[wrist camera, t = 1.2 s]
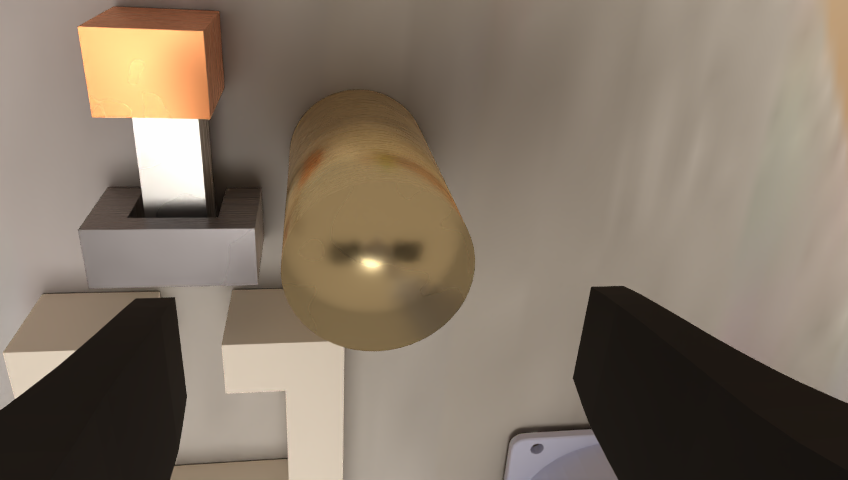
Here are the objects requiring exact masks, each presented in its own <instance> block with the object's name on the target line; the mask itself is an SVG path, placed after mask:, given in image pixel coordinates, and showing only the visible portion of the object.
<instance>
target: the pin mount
mask: <svg viewBox="0 0 848 480" xmlns="http://www.w3.org/2000/svg"><path fill="white" fill-rule="evenodd" d="M78 233H79V238H80V243H81V249H82V254H83V260H84V265H85V271H86V276H87V281H88V287H89V289H92V288H139V287H185V286H232V285H258V279H259V272H260V265H261V257H262V250H263V242H264V229H263V209H262V188H226V192H225V195H224V199H223V202H222V206H221V209H220V213H219V216H218V218H145V212H144V205H143V197H142V190H141V187H108V188H107V189H106V191H105V192H104V193H103V195H102V196H101V198H100V199H99V201H98V202H97V203H96V205H95V206H94V208H93V209H92V211H91V212H90V214H89V215H88V216H87V218H86V219H85V221H84V222H83V224H82V225H81V226H80V228H79V229H78Z"/></svg>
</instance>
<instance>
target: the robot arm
mask: <svg viewBox="0 0 848 480" xmlns="http://www.w3.org/2000/svg"><path fill="white" fill-rule="evenodd" d="M573 379H574V382H575V385H576V388H577V391H578V394H579V397H580V400H581V403H582V406H583V408H584V411H585V414H586V416H587V419H588V422H589V424H590V427H591V429H586V430H569V431H552V432H535V433H522V434H518V435H516V436H514V437H513V438H512V440H511V441H510V444H509V450H508V456H507V462H506V469H505V475H504V480H848V403H845V402H843V401H841V400H839V399H836V398H834V397H832V396H829V395H827V394H825V393H823V392H820V391H818V390H816V389H814V388H811V387H809V386H807V385H805V384H802V383H800V382H798V381H796V380H794V379H792V378H790V377H788V376H786V375H784V374H782V373H780V372H778V371H776V370H774V369H772V368H770V367H768V366H766V365H764V364H762V363H760V362H758V361H757V360H755V359H753V358H751V357H749V356H747V355H745V354H743V353H742V352H740V351H738V350H736V349H734V348H732V347H731V346H729V345H727V344H725V343H724V342H722V341H720V340H718V339H716V338H715V337H713V336H711V335H710V334H708V333H706V332H704V331H703V330H701V329H699V328H698V327H696V326H694V325H692V324H691V323H689V322H687V321H686V320H684V319H682V318H681V317H679V316H677V315H675V314H674V313H672V312H670V311H669V310H667V309H665V308H664V307H662V306H660V305H658V304H657V303H655V302H653V301H651V300H650V299H648V298H646V297H644V296H642V295H641V294H639V293H637V292H635V291H633V290H631V289H628V288H626V287H624V286H607V287H591V291H590V296H589V301H588V306H587V311H586V316H585V321H584V326H583V331H582V336H581V341H580V346H579V351H578V356H577V361H576V366H575V371H574V376H573ZM186 399H187V394H186V385H185V377H184V369H183V361H182V352H181V344H180V336H179V328H178V319H177V311H176V303H175V297H171V298H136V299H134V300H133V301H132V302H131V303H130V304H128V305H127V306H126V307H125V308H124V309H123V310H121V311H120V312H119V313H118V314H117V315H116V316H115V317H114V318H113V319H111V320H110V321H109V322H108V323H107V324H106V325H105V326H104V327H103V328H101V329H100V330H99V331H98V332H97V333H96V334H95V335H94V336H92V337H91V338H90V339H89V340H88V341H87V342H85V343H84V344H83V345H82V346H81V347H80V348H78V349H77V350H76V351H75V352H74V353H73V354H71V355H70V356H69V357H68V358H67V359H66V360H64V361H63V362H62V363H61V364H60V365H59V366H57V367H56V368H55V369H53V370H52V371H51V372H50V373H48V374H47V375H46V376H44V377H43V378H42V379H41V380H39V381H38V382H37V383H35V384H34V385H33V386H32V387H30V388H29V389H28V390H26V391H25V392H24V393H23V394H21V395H20V396H19V397H17V398H16V399H15V400H13V401H12V402H11V403H10V404H8V405H7V406H6V407H4V408H3V409H1V410H0V480H170V478H171V475H172V472H173V468H174V465H175V461H176V458H177V454H178V450H179V444H180V438H181V432H182V426H183V420H184V413H185V406H186ZM534 444H538V445H537V446H534V447H532V446H533V445H534Z"/></svg>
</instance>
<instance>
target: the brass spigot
mask: <svg viewBox="0 0 848 480" xmlns="http://www.w3.org/2000/svg"><path fill="white" fill-rule="evenodd" d="M474 270H475V255H474V247H473V244H472V240H471V237H470V234H469V232H468V230H467V227H466V225H465V223H464V221H463V219H462V217H461V215H460V213H459V211H458V208H457V206H456V204H455V202H454V200H453V198H452V196H451V194H450V192H449V189H448V187H447V185H446V183H445V181H444V179H443V177H442V175H441V173H440V170H439V168H438V166H437V164H436V162H435V160H434V158H433V156H432V154H431V152H430V149H429V147H428V145H427V143H426V141H425V139H424V137H423V135H422V133H421V130H420V128H419V126H418V124H417V123H416V121H415V119H414V118H413V116H412V115H411V114H410V113H409V112H408V110H407V109H405V108H404V107H403V106H402V105H401V104H400V103H398V102H397V101H395V100H394V99H392V98H390V97H388V96H386V95H384V94H381V93H378V92H374V91H370V90H347V91H341V92H338V93H335V94H332V95H330V96H327V97H325V98H323V99H322V100H320V101H319V102H317V103H316V104H314V105H313V106H312V107H311V108H310V109H309V110H308V111H307V112H306V113H305V114H304V115H303V117H302V118H301V120H300V121H299V122H298V124H297V126H296V128H295V130H294V133H293V136H292V140H291V145H290V156H289V169H288V182H287V195H286V208H285V221H284V234H283V247H282V260H281V279H282V286H283V290H284V293H285V296H286V299H287V301H288V303H289V305H290V307H291V309H292V310H293V312H294V313H295V315H296V316H297V317H298V318H299V320H300V321H301V322H302V323H303V324H304V325H305V326H306V327H307V328H308V329H309V330H311V331H312V332H313V333H315V334H316V335H318V336H319V337H321V338H323V339H325V340H327V341H329V342H331V343H333V344H336V345H339V346H341V347H345V348H349V349H354V350H362V351H384V350H391V349H396V348H401V347H404V346H407V345H411V344H413V343H416V342H418V341H420V340H422V339H424V338H426V337H428V336H429V335H431V334H433V333H434V332H436V331H437V330H438V329H440V328H441V327H442V326H444V325H445V324H446V323H447V322H448V321H449V320H450V319H451V318H452V317H453V316H454V314H455V313H456V312H457V311H458V310H459V308H460V307H461V305H462V304H463V302H464V300H465V298H466V296H467V294H468V292H469V290H470V287H471V284H472V281H473V275H474Z"/></svg>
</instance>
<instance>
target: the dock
mask: <svg viewBox="0 0 848 480" xmlns="http://www.w3.org/2000/svg"><path fill="white" fill-rule="evenodd" d="M136 298H161V297H160V291H159V292H114V293H69V294H42V295H41V297H40V298H39V300H38V301H37V303H36V304H35V306H34V307H33V309H32V310H31V312H30V313H29V315H28V316H27V318H26V319H25V321H24V322H23V324H22V325H21V327H20V328H19V330H18V331H17V333H16V334H15V336H14V337H13V338H12V340H11V341H10V343H9V344H8V346H7V347H6V349H5V350H4V352H3V356H4V360H5V363H6V367H7V371H8V375H9V379H10V382H11V386H12V390H13V394H14V398H15V399H16V398H17V397H19V396H20V395H21V394H23V393H24V392H25V391H26V390H28V389H29V388H30V387H32V386H33V385H34V384H35V383H37V382H38V381H39V380H41V379H42V378H43V377H44V376H46V375H47V374H48V373H50V372H51V371H52V370H53V369H55V368H56V367H57V366H59V365H60V364H61V363H62V362H63V361H64V360H66V359H67V358H68V357H69V356H70V355H71V354H73V353H74V352H75V351H76V350H77V349H78V348H80V347H81V346H82V345H83V344H84V343H85V342H87V341H88V340H89V339H90V338H91V337H92V336H94V335H95V334H96V333H97V332H98V331H99V330H100V329H101V328H103V327H104V326H105V325H106V324H107V323H108V322H109V321H110V320H111V319H113V318H114V317H115V316H116V315H117V314H118V313H119V312H120V311H121V310H123V309H124V308H125V307H126V306H127V305H128V304H130V303H131V302H132V301H133V300H134V299H136ZM222 356H223V367H224V379H225V391H226V394H228V393H250V392H271V391H286V415H287V443H288V459H277V460H261V461H245V462H229V463H213V464H197V465H181V466H174V468H173V472H172V475H171V478H170V480H343V417H344V347H341V346H339V345H336V344H333V343H331V342H329V341H327V340H325V339H323V338H321V337H319V336H318V335H316V334H315V333H313V332H312V331H311V330H309V329H308V328H307V327H306V326H305V325H304V324H303V323H302V322H301V321H300V320H299V318H298V317H297V316H296V315H295V313H294V312H293V310H292V309H291V307H290V305H289V303H288V301H287V299H286V296H285V293H284V290H283V289H248V290H232V295H231V300H230V305H229V310H228V315H227V320H226V325H225V331H224V336H223V341H222Z"/></svg>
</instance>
